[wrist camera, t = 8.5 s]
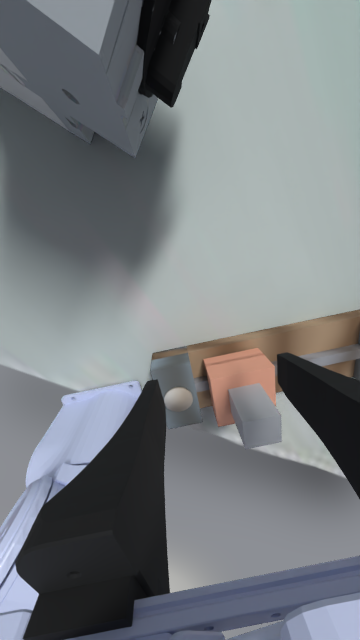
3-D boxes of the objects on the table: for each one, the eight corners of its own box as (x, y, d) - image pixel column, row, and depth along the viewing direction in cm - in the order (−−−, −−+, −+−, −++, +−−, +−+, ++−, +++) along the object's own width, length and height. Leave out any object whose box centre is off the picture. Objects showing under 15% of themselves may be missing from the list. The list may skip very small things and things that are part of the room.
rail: (167, 405, 25) (168, 431, 22) (152, 353, 22) (150, 373, 19) (373, 363, 25) (407, 382, 21) (384, 304, 22) (426, 315, 19)
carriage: (211, 401, 23) (229, 464, 16) (203, 359, 21) (220, 411, 14) (260, 391, 23) (299, 450, 16) (257, 347, 21) (301, 395, 14)
